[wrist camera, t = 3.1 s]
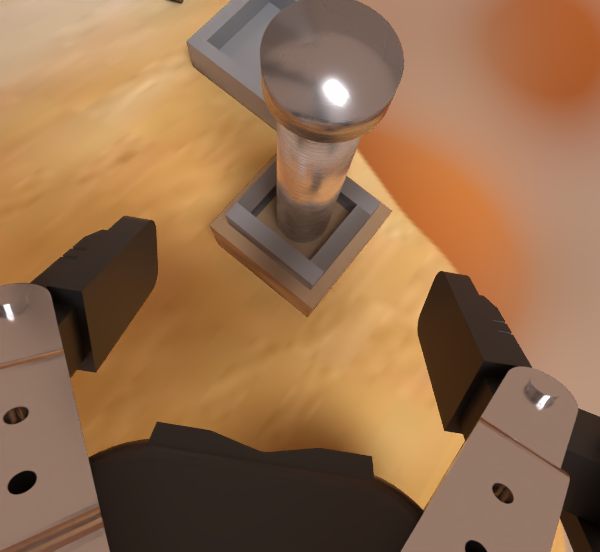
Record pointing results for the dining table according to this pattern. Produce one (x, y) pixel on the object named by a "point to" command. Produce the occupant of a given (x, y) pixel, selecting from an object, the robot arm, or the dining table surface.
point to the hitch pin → (324, 101)
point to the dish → (237, 51)
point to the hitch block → (292, 255)
